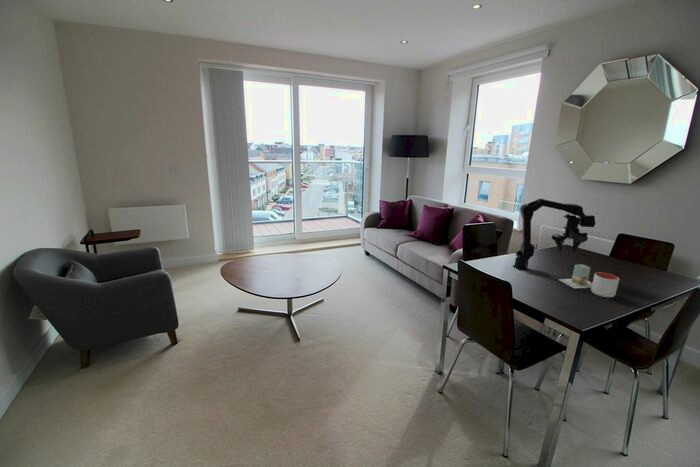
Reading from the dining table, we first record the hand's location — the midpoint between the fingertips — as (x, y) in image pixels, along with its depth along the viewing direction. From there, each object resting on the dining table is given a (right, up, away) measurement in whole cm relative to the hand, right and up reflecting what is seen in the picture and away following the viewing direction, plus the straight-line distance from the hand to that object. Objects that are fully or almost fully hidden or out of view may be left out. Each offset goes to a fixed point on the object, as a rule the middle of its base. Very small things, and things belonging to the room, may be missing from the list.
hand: (566, 251), depth 191 cm
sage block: (-2, -12, -15) cm, 19 cm away
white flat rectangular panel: (-2, -17, -13) cm, 22 cm away
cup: (+1, -21, -26) cm, 33 cm away
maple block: (-2, -17, -13) cm, 22 cm away
